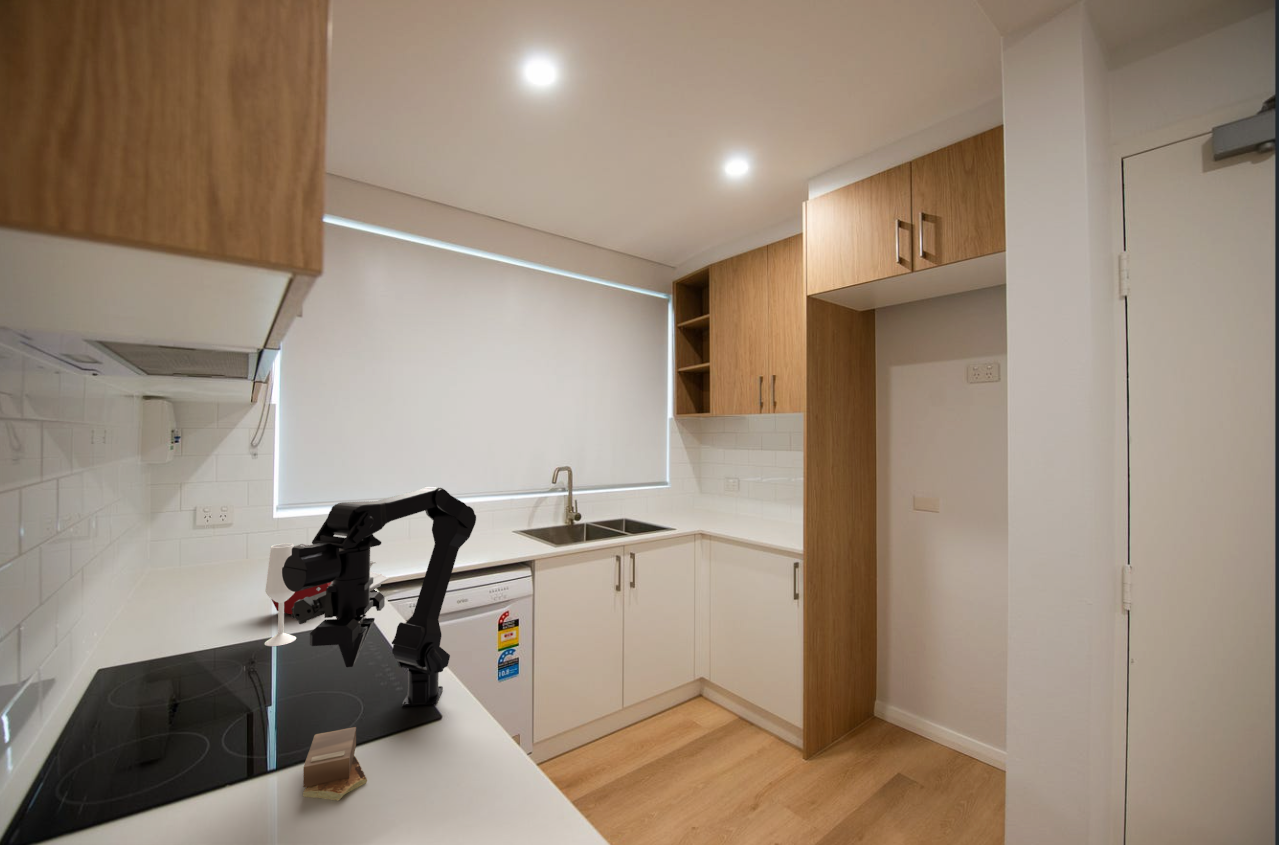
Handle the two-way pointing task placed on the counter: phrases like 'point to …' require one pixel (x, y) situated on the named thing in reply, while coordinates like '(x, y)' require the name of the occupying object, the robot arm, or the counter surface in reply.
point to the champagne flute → (279, 590)
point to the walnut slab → (330, 757)
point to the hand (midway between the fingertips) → (350, 666)
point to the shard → (338, 785)
